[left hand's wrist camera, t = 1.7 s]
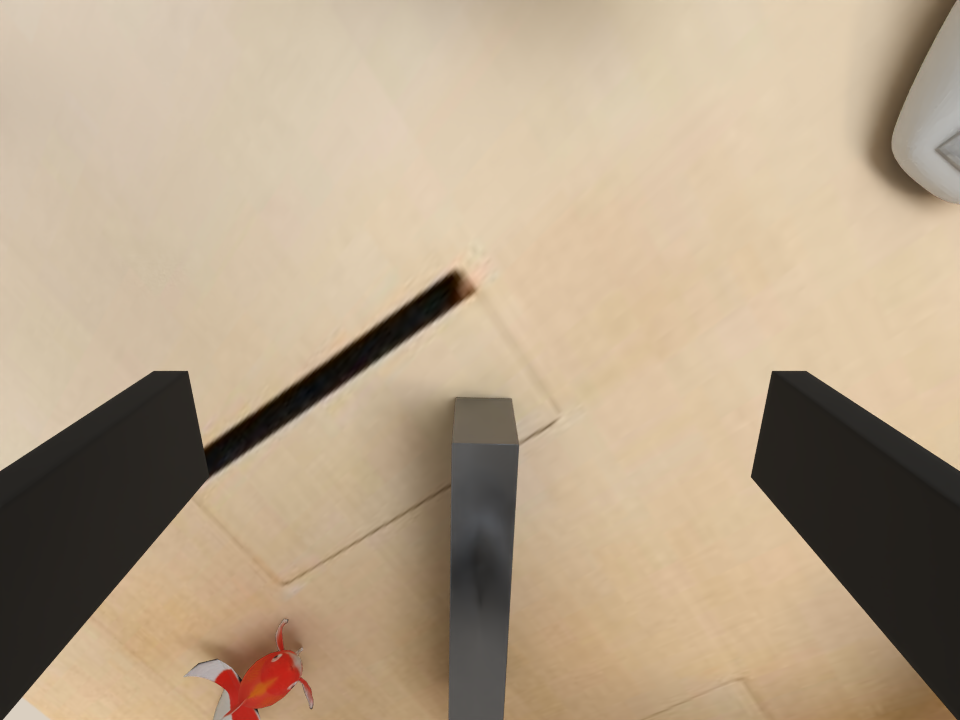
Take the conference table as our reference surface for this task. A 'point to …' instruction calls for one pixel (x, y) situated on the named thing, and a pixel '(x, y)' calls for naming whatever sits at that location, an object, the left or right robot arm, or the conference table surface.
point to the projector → (934, 117)
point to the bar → (481, 554)
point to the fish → (255, 682)
